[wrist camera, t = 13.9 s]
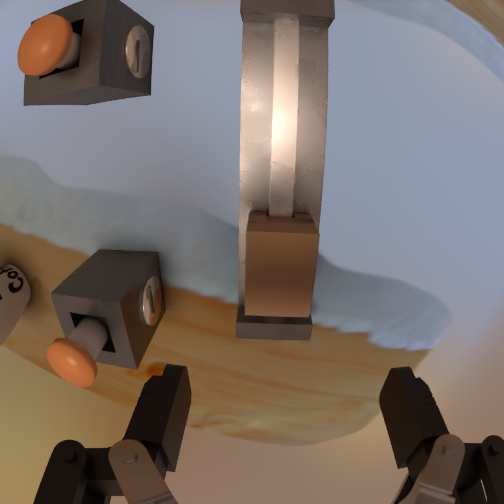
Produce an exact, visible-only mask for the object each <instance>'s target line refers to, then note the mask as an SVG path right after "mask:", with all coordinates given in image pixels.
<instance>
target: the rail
mask: <svg viewBox="0 0 504 504" xmlns="http://www.w3.org/2000/svg"><path fill="white" fill-rule="evenodd" d="M240 13H241V17H242V21H243V43H242V79H241V82H242V83H241V124H240V187H239V188H240V189H239V193H240V194H239V307H238V314H237V320H236V338H246V339H270V340H310V338H311V332H312V326H313V324H312V319H311V314H310V315H309V317H280V316H253V315H245V263H246V229H247V224H248V218H249V213H250V211H261V212H266V216H268V217H291V218H294V213H306V214H311V217H312V219H313V221H314V223H315V225H316V227H317V229H318V232H319V222H320V211H321V201H322V187H323V174H324V161H325V160H324V159H325V144H326V123H327V97H328V28H329V26H330V25H331V23H332V22H333V20H334V19H335V9H334V0H241V7H240Z"/></svg>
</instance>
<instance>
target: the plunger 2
mask: <svg viewBox="0 0 504 504" xmlns="http://www.w3.org/2000/svg"><path fill="white" fill-rule="evenodd" d="M108 339H109V332H108V329H107V328H106V326H105V325H104V324H103V323H102V322H101V321H100V320H98V319H97V318H95V317H91V316H87V317H84V318H83V319H82V321H81V322H80V323H79V324H78V326H77V327H76V328H75V329H74V331H73V332H72V333H71V334H70V336H69V337H68V338H67V339H66V338H58V339H56V340H55V341H54V342H53V343H52V344H51V345H50V347H49V348H48V350H47V359H48V361H49V363H50V365H51V367H52V368H53V369H54V371H55V372H56V373H57V374H58V375H59V376H60V377H62V378H63V379H64V380H66V381H67V382H69V383H71V384H73V385H75V386H79V387H88V386H90V385H91V384H92V382H93V380H94V379H95V377H96V375H97V366H96V363H95V359H96V358H97V356H98V355H99V353H100V351H101V350H102V348H103V347H104V345H105V343H106V342H107V340H108Z"/></svg>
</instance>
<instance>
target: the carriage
mask: <svg viewBox="0 0 504 504" xmlns="http://www.w3.org/2000/svg"><path fill="white" fill-rule="evenodd" d="M319 236H320V235H319V232H318V229H317V227H316V225H315V223H314V221H313V219H312V217H311V214H306V213H294V218H291V217H268V216H266V212H261V211H250V213H249V218H248V224H247V229H246V263H245V315H253V316H280V317H309V315H310V308H311V301H312V294H313V287H314V279H315V271H316V263H317V254H318V245H319Z"/></svg>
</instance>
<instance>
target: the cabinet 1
mask: <svg viewBox="0 0 504 504" xmlns="http://www.w3.org/2000/svg"><path fill="white" fill-rule="evenodd" d="M50 14H55V15H58V16H61V17H63V18H66V19H67V20H68V21H69V22H70V23H71V26H72V30H73V32H75V33H77V34H80V35H82V40H81V50H80V63H79V67H77V68H73V69H70V70H66V69H60V68H55V69H54V70H53V71H52V72H50V73H48V74H46V75H43V76H36V75H27V74H25V81H24V106H27V105H89V104H95V103H100V102H106V101H112V100H118V99H125V98H131V97H139V96H147V95H151V74H152V52H153V36H154V26H153V25H152V24H151V23H149V22H148V21H147V20H145V19H144V18H143V17H141V16H140V15H139V14H137V13H136V12H135V11H133V10H132V9H131V8H129V7H128V6H127V5H125V4H124V3H122V2H121V1H120V0H83V1H80V2H77V3H75V4H72V5H69V6H67V7H64V8H62V9H59V10H57V11H55V12H52V13H50ZM37 20H38V19H37ZM35 21H36V20H35ZM35 21H33V22H31V25H32V24H33V23H34V22H35Z"/></svg>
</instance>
